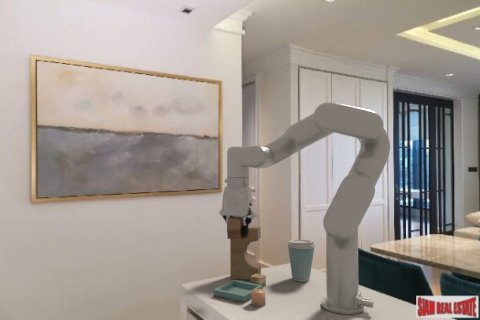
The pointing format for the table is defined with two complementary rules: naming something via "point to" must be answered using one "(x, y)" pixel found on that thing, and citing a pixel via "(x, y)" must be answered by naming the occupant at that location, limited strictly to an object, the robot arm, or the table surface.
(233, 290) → the tray
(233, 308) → the table surface
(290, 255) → the disposable coffee cup
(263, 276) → the oak cube
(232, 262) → the decorative block
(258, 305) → the peach round blob
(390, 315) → the table surface
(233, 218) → the walnut block
